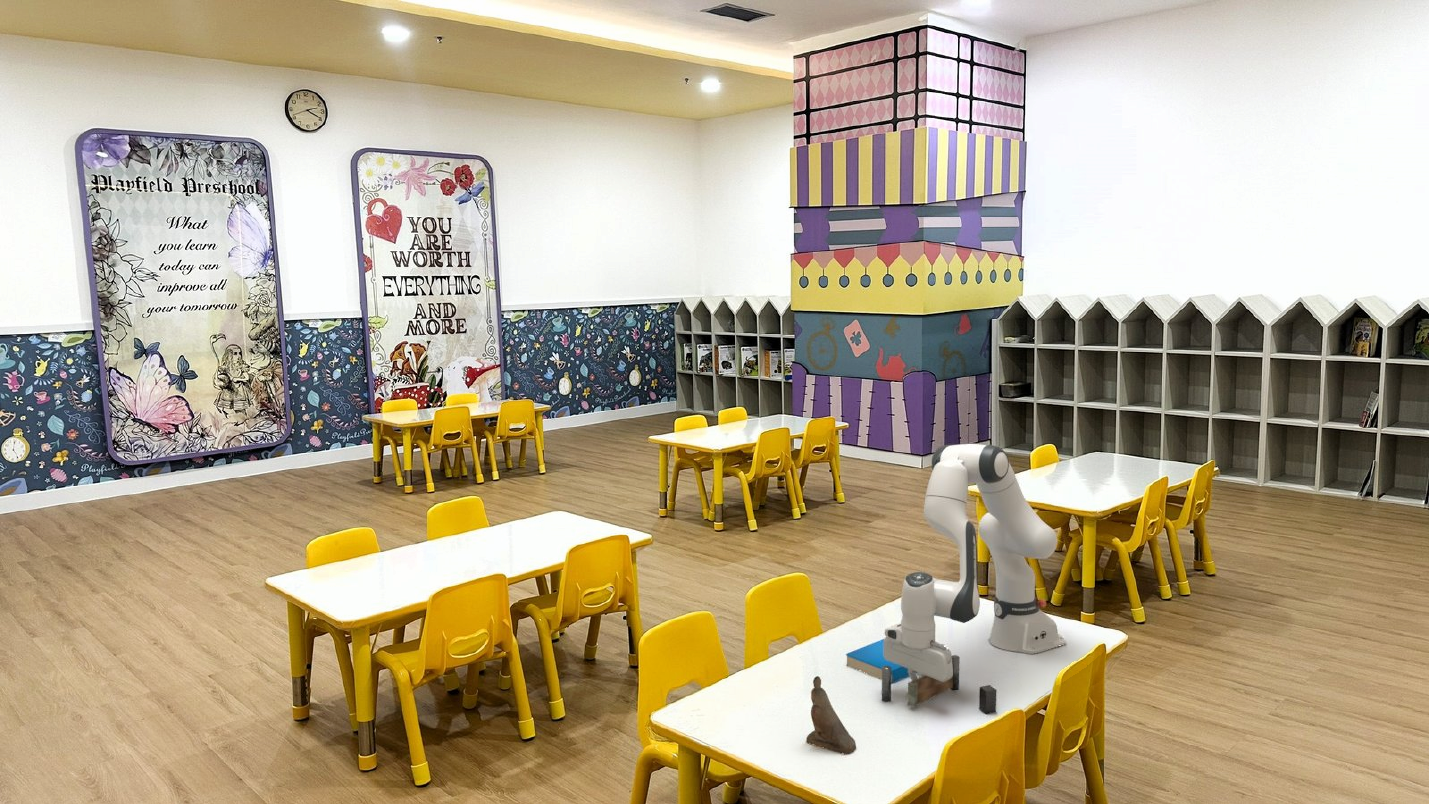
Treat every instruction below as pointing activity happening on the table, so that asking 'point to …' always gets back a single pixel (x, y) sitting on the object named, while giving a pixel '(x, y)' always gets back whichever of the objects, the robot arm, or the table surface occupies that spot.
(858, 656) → the book
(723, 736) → the table surface
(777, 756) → the table surface
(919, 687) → the gate
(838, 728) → the worn brown figurine
